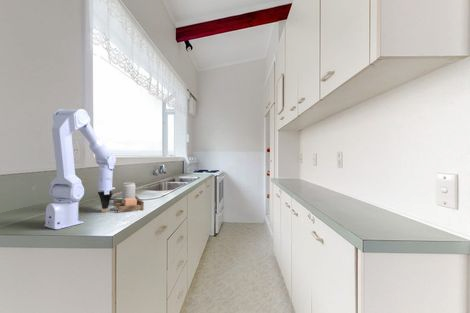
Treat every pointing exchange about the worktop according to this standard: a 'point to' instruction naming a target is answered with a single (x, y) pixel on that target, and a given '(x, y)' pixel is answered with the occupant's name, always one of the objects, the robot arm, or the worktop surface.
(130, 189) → the beverage can
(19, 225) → the worktop surface
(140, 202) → the lane organiser
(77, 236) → the worktop surface
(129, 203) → the grey rod with ends
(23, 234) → the worktop surface
